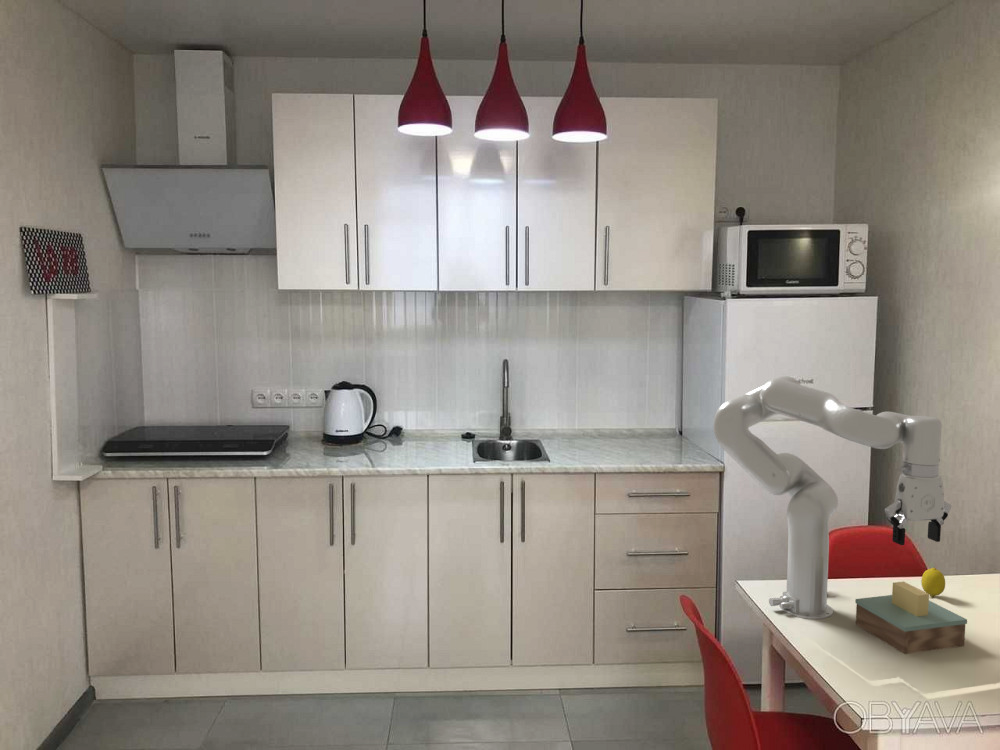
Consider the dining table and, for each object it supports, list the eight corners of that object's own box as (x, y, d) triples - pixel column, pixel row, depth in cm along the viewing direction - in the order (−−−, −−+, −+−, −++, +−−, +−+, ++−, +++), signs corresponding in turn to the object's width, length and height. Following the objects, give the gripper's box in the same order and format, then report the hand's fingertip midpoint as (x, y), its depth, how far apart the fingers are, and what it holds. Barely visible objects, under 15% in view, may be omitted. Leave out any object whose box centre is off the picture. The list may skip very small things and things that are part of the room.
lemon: (915, 595, 210) (917, 566, 209) (930, 591, 212) (931, 562, 212) (935, 602, 205) (936, 572, 204) (949, 598, 207) (951, 569, 207)
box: (903, 657, 175) (905, 631, 175) (855, 627, 191) (856, 603, 190) (963, 648, 179) (965, 623, 178) (911, 620, 194) (913, 596, 194)
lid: (905, 631, 174) (906, 605, 174) (855, 603, 190) (856, 579, 189) (966, 623, 178) (968, 598, 177) (913, 596, 194) (914, 572, 193)
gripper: (900, 475, 176) (896, 550, 178) (964, 471, 180) (959, 543, 182) (876, 468, 183) (872, 539, 185) (939, 464, 188) (935, 534, 189)
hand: (916, 541), depth 184 cm, fingers open, 9 cm apart
